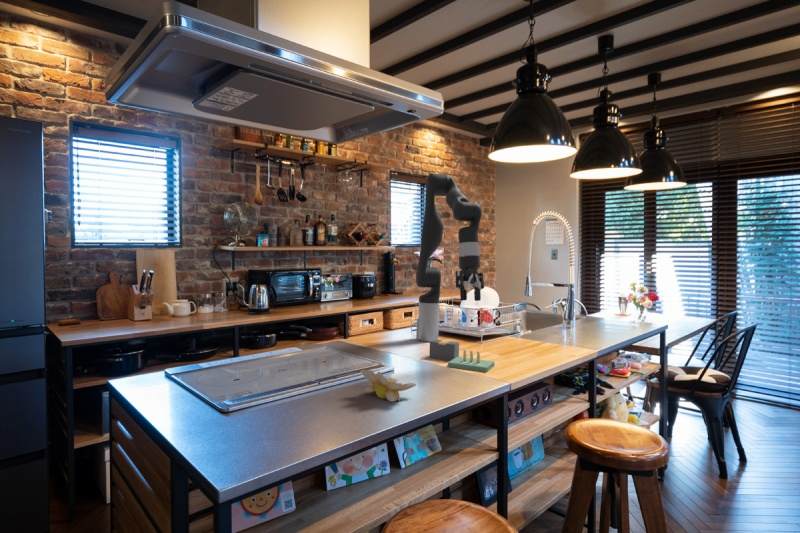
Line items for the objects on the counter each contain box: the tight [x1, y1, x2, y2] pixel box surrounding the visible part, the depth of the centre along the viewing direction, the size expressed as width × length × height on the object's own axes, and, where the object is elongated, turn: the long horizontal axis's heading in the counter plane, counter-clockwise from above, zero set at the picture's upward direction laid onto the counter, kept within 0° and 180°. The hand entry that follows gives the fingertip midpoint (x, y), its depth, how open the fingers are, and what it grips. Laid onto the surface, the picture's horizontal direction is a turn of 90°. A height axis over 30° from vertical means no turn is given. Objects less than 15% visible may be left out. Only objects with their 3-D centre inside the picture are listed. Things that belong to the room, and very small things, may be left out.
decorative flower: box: [359, 368, 417, 402], centre depth 123 cm, size 15×11×10 cm
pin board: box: [447, 349, 495, 373], centre depth 159 cm, size 14×10×6 cm
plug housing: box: [429, 339, 460, 361], centre depth 171 cm, size 10×5×6 cm, turn 63°
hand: (470, 300), depth 161 cm, fingers open, 8 cm apart
